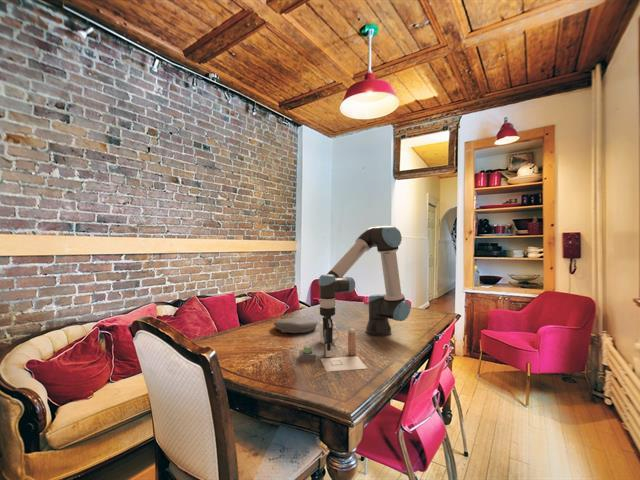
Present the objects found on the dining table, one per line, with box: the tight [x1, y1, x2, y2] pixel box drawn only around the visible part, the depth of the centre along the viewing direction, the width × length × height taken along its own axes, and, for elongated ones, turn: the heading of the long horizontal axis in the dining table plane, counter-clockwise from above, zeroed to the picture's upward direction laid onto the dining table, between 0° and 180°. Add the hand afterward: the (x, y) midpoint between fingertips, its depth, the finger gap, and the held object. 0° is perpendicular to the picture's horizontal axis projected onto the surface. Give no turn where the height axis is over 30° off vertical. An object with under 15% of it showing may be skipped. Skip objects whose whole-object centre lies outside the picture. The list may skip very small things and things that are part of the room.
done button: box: [302, 345, 313, 354], centre depth 143 cm, size 4×4×4 cm
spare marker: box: [347, 328, 357, 357], centre depth 147 cm, size 4×4×12 cm
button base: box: [298, 348, 317, 363], centre depth 143 cm, size 7×7×3 cm
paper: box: [320, 355, 368, 373], centre depth 136 cm, size 18×14×1 cm
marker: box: [323, 330, 333, 358], centre depth 146 cm, size 4×4×12 cm
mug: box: [319, 320, 340, 345], centre depth 166 cm, size 9×12×11 cm
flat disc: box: [273, 317, 319, 335], centre depth 192 cm, size 28×28×4 cm
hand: (327, 355), depth 146 cm, fingers closed on marker, 3 cm apart
